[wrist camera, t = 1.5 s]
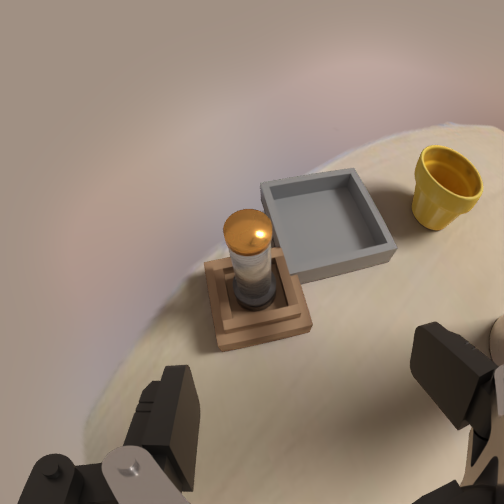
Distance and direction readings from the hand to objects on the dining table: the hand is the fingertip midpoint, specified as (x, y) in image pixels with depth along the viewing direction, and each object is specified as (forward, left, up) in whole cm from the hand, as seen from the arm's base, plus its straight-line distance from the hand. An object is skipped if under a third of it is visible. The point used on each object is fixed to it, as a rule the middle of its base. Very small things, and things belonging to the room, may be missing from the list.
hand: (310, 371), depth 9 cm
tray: (-11, -20, -23) cm, 32 cm away
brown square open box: (0, -12, -23) cm, 26 cm away
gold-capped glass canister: (0, -12, -20) cm, 23 cm away
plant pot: (-29, -19, -23) cm, 41 cm away
